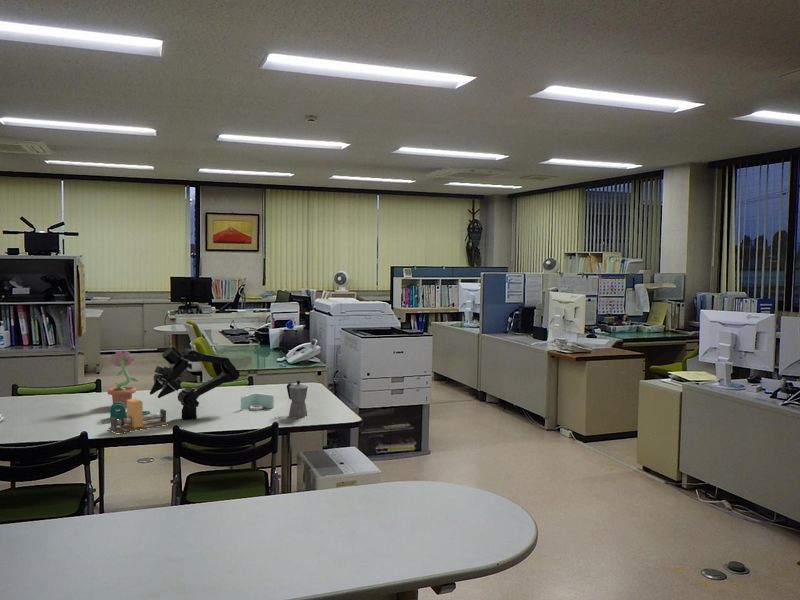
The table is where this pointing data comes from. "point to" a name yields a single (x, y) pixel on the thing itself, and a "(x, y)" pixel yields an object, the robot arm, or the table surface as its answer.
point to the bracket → (121, 411)
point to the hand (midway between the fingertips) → (154, 395)
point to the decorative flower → (122, 392)
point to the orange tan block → (135, 412)
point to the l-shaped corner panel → (257, 401)
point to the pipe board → (160, 420)
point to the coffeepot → (297, 399)
